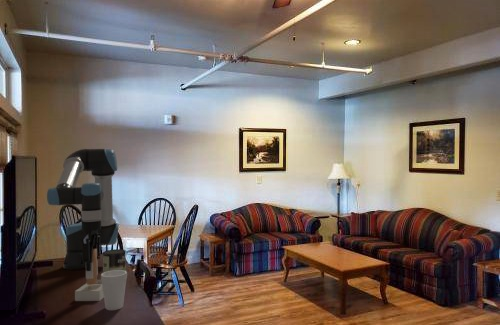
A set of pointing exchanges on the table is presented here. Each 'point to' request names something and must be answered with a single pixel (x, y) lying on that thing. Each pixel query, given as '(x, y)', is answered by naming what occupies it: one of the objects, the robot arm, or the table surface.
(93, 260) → the pin
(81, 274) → the table surface
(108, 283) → the foam cup
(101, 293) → the bore block
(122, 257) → the coffee can
